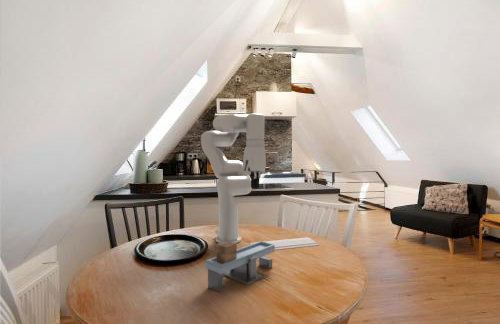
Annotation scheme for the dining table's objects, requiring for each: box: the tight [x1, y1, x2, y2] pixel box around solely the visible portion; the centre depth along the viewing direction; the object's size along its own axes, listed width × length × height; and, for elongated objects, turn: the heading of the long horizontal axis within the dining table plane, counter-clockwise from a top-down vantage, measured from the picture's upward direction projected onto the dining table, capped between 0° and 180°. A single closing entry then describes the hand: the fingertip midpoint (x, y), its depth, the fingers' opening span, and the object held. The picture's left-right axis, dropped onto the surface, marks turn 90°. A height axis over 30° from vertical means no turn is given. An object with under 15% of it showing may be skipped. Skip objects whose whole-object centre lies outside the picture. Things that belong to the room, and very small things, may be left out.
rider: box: [216, 241, 238, 264], centre depth 104 cm, size 4×5×6 cm
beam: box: [205, 240, 276, 274], centre depth 111 cm, size 8×28×3 cm, turn 138°
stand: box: [207, 255, 273, 293], centre depth 111 cm, size 12×28×8 cm, turn 138°
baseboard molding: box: [249, 237, 320, 251], centre depth 146 cm, size 31×3×12 cm
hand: (255, 187), depth 130 cm, fingers closed
